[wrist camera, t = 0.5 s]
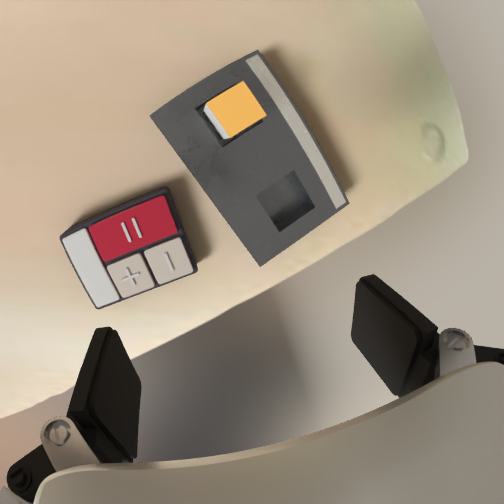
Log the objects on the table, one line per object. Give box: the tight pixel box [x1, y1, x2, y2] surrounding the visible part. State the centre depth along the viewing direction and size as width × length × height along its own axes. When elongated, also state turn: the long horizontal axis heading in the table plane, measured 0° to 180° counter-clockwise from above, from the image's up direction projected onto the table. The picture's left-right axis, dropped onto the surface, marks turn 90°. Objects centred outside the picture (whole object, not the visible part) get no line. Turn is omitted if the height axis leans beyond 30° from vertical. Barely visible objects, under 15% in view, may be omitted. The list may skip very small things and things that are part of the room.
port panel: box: [150, 50, 349, 267], centre depth 32 cm, size 14×22×4 cm, turn 33°
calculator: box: [60, 187, 198, 309], centre depth 33 cm, size 11×4×15 cm
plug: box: [203, 81, 266, 140], centre depth 27 cm, size 4×4×8 cm
